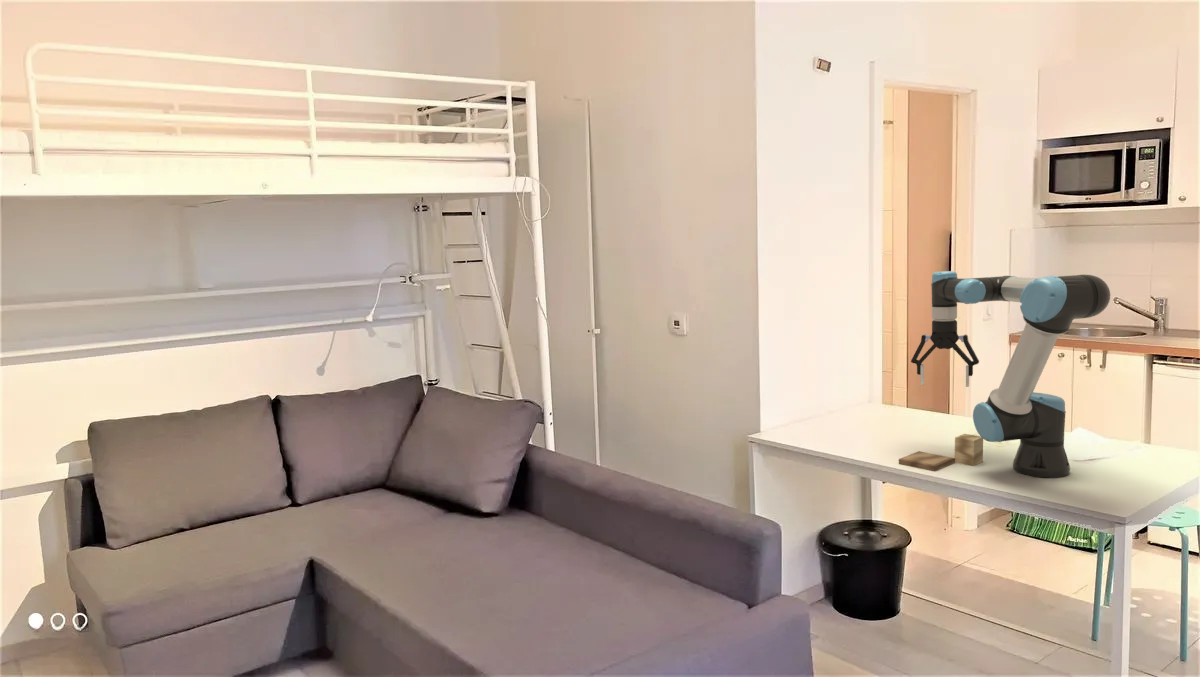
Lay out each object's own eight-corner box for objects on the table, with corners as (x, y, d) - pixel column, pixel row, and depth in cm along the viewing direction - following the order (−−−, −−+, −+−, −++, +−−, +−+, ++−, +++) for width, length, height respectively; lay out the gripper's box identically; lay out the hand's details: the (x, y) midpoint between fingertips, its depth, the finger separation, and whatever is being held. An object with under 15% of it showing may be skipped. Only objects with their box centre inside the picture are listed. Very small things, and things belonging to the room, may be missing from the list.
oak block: (982, 461, 273) (983, 436, 272) (973, 466, 269) (973, 440, 268) (963, 458, 277) (964, 433, 276) (954, 462, 274) (955, 437, 272)
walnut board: (954, 462, 273) (954, 457, 273) (935, 471, 265) (935, 466, 265) (918, 455, 282) (918, 450, 282) (898, 463, 274) (898, 458, 274)
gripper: (987, 318, 279) (987, 384, 281) (905, 318, 291) (905, 382, 293) (986, 320, 273) (986, 388, 275) (901, 320, 284) (902, 385, 286)
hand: (944, 385), depth 284 cm, fingers open, 13 cm apart
